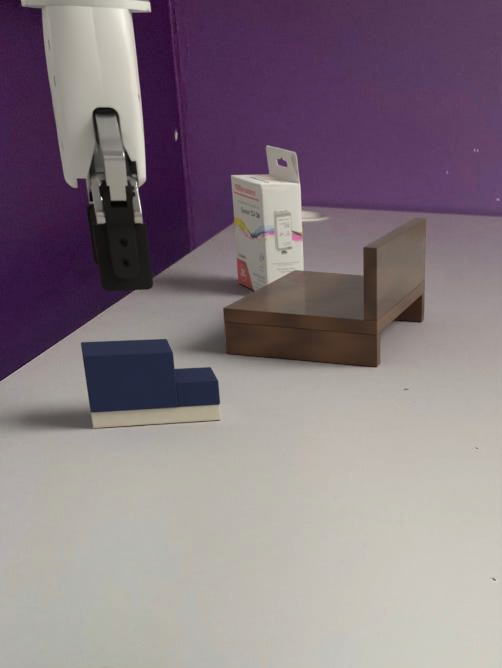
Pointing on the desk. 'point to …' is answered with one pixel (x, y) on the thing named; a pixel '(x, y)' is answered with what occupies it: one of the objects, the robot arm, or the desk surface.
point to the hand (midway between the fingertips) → (122, 275)
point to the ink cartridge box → (268, 221)
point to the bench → (334, 305)
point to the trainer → (145, 385)
